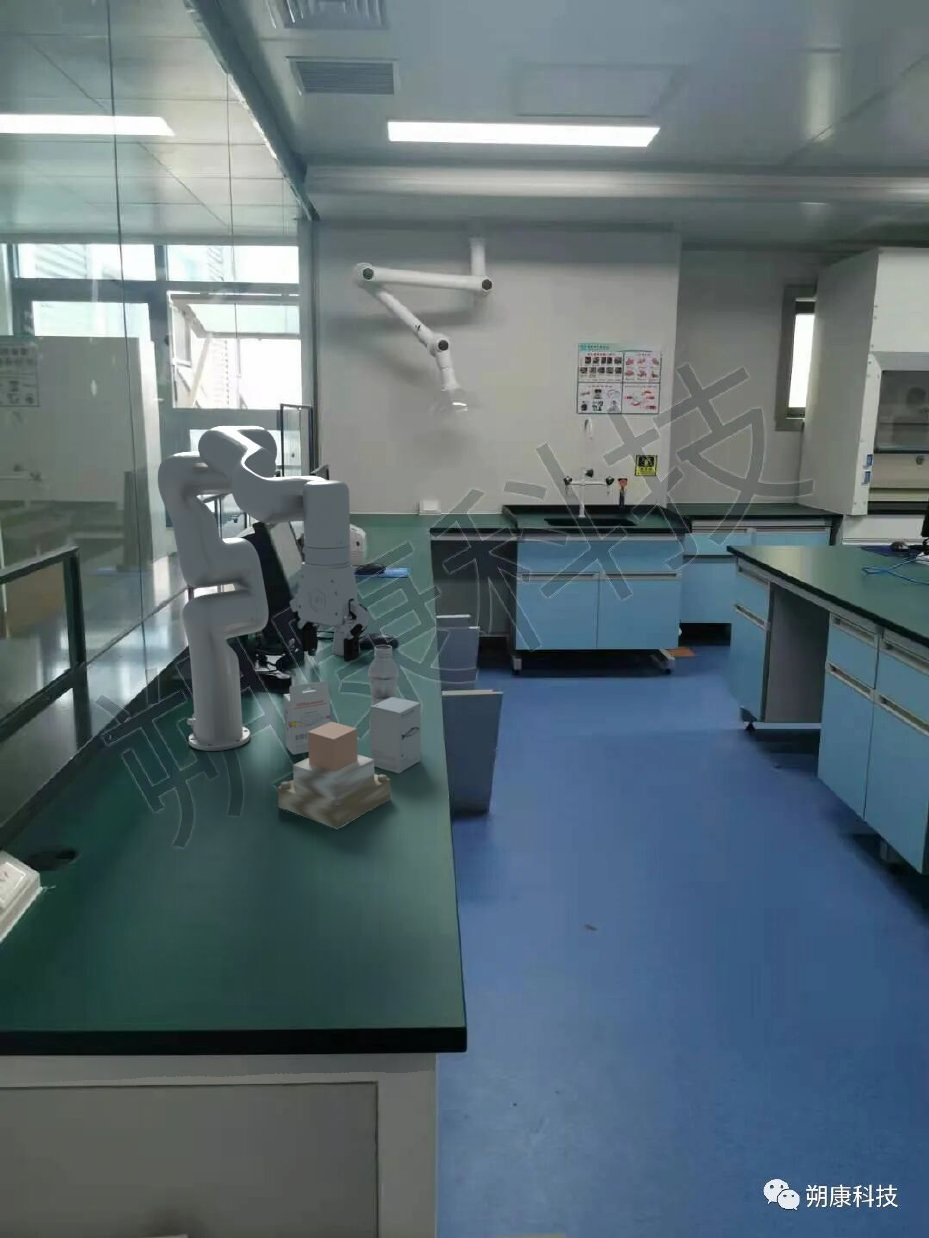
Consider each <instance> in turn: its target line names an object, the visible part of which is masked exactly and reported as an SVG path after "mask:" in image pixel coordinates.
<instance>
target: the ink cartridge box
mask: <svg viewBox="0 0 929 1238" xmlns="http://www.w3.org/2000/svg"><path fill="white" fill-rule="evenodd" d="M308 688H310V689H312V690H307V689H308ZM305 690H306V691H305ZM288 691H289V693H284V694H283V712H284V729H285V730H284V732H285V747H286V749H287V750H288V751H289V752H290V754H291V755H293V756H294V755H299V754H305V753H309V749H308V731H311V730H313V729H315V728H318V727H320V726H322V725H325V724H327V723H329V722H332V721H331V720H332V719H331V704H330V703H331V700H330V699H331V698H330V695H329V684H328V681H327V680H323V681H318V682H316V681H315V682H309V683H302V684H294V685H290V686H289V688H288Z"/></svg>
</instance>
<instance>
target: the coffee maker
mask: <svg viewBox="0 0 929 1238" xmlns="http://www.w3.org/2000/svg"><path fill="white" fill-rule="evenodd" d="M358 604H359V605H360V606H361V607H362V608H364V609H365V610H366V611H367V612H368V613H369V611H368V609H367V608H366V607H365V606H364V605H363V604H362V603H361V602H359V601H358ZM358 620H359V619H358V617H357V620H356V622H357V624H358ZM348 626H349V628H350V629H351V630H352V628H351V626H350V625H348ZM345 638H347V637H346V635H345V634H344V632H343V630H342V629H341V627H340V626H339V627H334V633H333V642H332V650H331V654H332V655H334V656H338V657H344V643H343V641H344V639H345ZM361 653H362V652H361V648H360V645H359V654H361Z"/></svg>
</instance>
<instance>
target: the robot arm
mask: <svg viewBox="0 0 929 1238" xmlns="http://www.w3.org/2000/svg"><path fill="white" fill-rule="evenodd" d="M197 443H198V444H197V451H187V452H178V453H175V454H171V455H168V456H166V457H165V458H164V459H162V461H161V462H160V464H159V467H158V471H157V485H158V487H157V488H158V491H159V494H160V497H161V500H162V502H163V505H164V507H165V509H166V512H167V513H168V516H169V518H170V520H171V524H172V528H173V529H172V530H173V534H174V539H175V544H176V549H177V555H178V560H179V566H180V570H181V574H182V577H183V580H184V582H185V583H186V584H187V585H188V586H189V587H191V588H195V589H203V588H205V589H206V588H213V587H220V586H227V585H233V587H234V590H229V591H219V592H212V593H206V594H202V595H198V596H195V597H193V598H191V599H190V600H188V601H187V602H186V603H185V605H184V607H183V608H182V612H181V616H182V618H181V619H182V625H183V628H184V632H185V636H186V641H187V644H188V649H189V650H188V651H189V659H190V671H191V683H192V684H191V686H192V698H193V699H192V700H193V711H194V713H193V714H192V715H191V717H189V718H187V720H186V723H187V725H189V726H192V729H193V732H192V733H190V735H189V736H188V744H189V746H190V747H191V748H193V749H196V750H199V751H200V750H201V751H205V752H219V751H225V750H226V751H227V750H232V749H235V748H238V747H242V746H243V745H245V744H246V743H248V742H250V741H249V740H251V731H250V729H248V727H245V726H244V725H243V715H242V714H243V713H242V699H241V698H242V697H241V694H242V693H241V682H240V681H241V678H240V677H241V676H240V664H239V663H240V662H239V658H238V655H237V653H236V652H235V650H233V648H232V647H231V646H230V645H229V644H228V642H227V639H231V638H235V637H239V636H245V635H249V634H250V635H251V634H253V633H258V632H260V631H262V630H264V629H265V628H266V626H267V624H268V621H269V605H268V599H267V593H266V588H265V583H264V582H265V581H264V577H263V570H262V565H261V561H260V557H259V554H258V551H257V550H256V548H255V546H254V545H253V544H252V542H251V541H249V540H248V539H245V538H243V537H227V538H221V537H220V533H219V530H218V523H217V518H216V516H215V515H214V513H213V511H212V510H211V509H210V508H209V506H208V505H207V504H206V503H205V502H204V501H203V500H202V499H200V498H199V497H198V496H205V495H206V496H207V495H208V496H209V495H210V496H211V495H224V494H225V495H226V494H232V498H233V500H234V502H235V504H236V506H237V507H238V508H239V509H240V510H241V512H244V513H245V514H246V515H248V516H249V517H251V518H253V519H254V520H255V521H258V522H260V523H264V524H270V525H271V524H274V525H275V524H282V523H290V522H291V523H292V522H303V544H304V545H303V547H302V548H301V549H302V550H301V552H302V553H303V554H304V561H303V562H302V563H301V565H300V570H299V574H298V575H299V576H298V582H297V583H298V586H297V597H295V598H292V599H290V600H289V605H290V608H291V611H292V612H293V613H292V614H293V618H294V620H296V623H297V627H298V629H300V641H301V643H300V646H301V651H302V652H303V653H304V652H305V653H306V652H309V651H313V650H315V649H317V647H318V635H317V626H316V625H314V624H317V625H321V626H326V627H330V628H335V627H339V626H340V627H341V629H342V630H343V632H344V634H345V635H346V637H347V638H345V639H344V641H343V643H344V656H343V661H344V662H346V663H349V662H352V661H354V660H357V659H359V657H360V653H359V646H360V637H362V635H363V632H364V631H366V630H367V628H368V625H369V622H370V620H371V616H372V615H371V613H370V612H369V611H368V610H367V611H368V612H367V611H366V610H365V609H364V608H362V607H361V606H360V605H359V604H358V602H359V601H358V599H359V598H358V589H357V588H358V587H357V581H356V574H355V569H354V567H353V564H351V520H350V519H351V518H350V517H351V516H350V515H351V513H350V489H349V486H348V485H347V483H345V482H344V481H340V480H335V479H334V480H333V479H332V480H331V479H325V478H324V477H321V476H318V475H300V476H298V475H297V476H295V475H293V476H278V477H277V476H276V477H275V475H276V472H277V462H276V460H277V456H278V445H277V443H276V439H275V438H274V436H273V435H272V433H270V431H268V430H267V429H266V428H264V427H261V426H256V425H242V426H241V425H236V426H235V425H227V426H226V425H222V426H216V427H212V428H209V429H208V430H206V431H205V432H203V434H202V435H201V436H200V438H199V440H198V442H197ZM357 617H358V619H359V620H358V624H357V622H356V620H357ZM348 625H350V626H351V628H352V630H351V629H350V628H349V626H348Z"/></svg>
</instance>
